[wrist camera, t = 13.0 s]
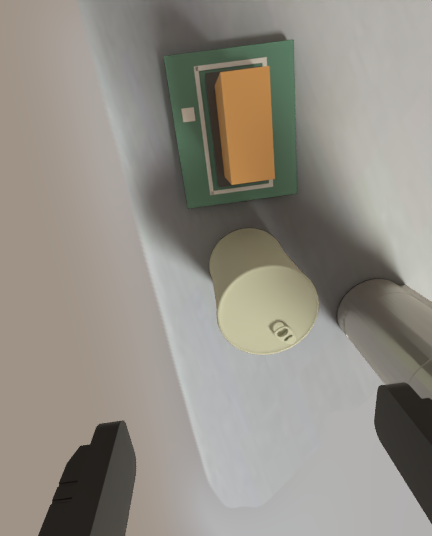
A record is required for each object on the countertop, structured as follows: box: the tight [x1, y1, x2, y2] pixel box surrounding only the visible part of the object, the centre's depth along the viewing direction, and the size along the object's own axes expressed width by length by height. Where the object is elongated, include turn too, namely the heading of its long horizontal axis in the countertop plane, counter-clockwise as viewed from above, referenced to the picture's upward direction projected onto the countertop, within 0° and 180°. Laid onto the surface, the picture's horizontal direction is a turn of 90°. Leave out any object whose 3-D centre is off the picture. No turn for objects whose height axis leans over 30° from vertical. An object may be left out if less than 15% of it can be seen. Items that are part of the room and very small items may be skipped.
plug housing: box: [215, 66, 275, 185], centre depth 27 cm, size 4×8×6 cm, turn 7°
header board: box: [164, 40, 297, 209], centre depth 29 cm, size 12×14×6 cm
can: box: [209, 228, 319, 355], centre depth 32 cm, size 9×9×12 cm
